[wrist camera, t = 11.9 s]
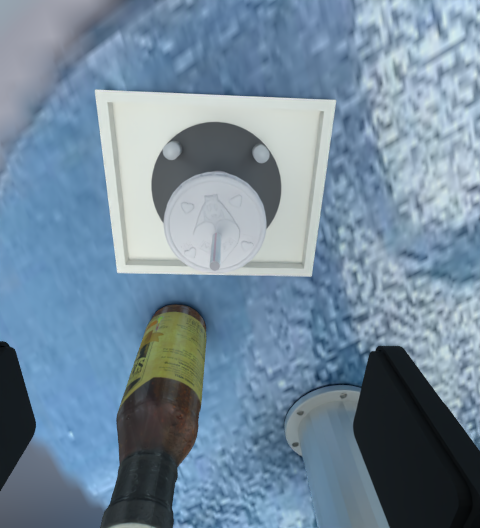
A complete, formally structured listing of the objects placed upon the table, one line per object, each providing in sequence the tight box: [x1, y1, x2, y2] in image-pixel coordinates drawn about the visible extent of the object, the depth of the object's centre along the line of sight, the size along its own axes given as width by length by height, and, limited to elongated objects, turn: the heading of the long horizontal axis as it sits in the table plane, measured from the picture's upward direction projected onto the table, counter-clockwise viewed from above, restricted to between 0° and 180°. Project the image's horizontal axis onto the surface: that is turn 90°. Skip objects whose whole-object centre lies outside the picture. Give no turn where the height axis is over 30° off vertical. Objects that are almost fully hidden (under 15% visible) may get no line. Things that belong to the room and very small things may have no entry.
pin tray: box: [95, 90, 336, 277], centre depth 29 cm, size 15×18×4 cm
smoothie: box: [164, 171, 267, 274], centre depth 23 cm, size 6×6×14 cm
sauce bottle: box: [100, 304, 206, 528], centre depth 28 cm, size 7×6×20 cm
